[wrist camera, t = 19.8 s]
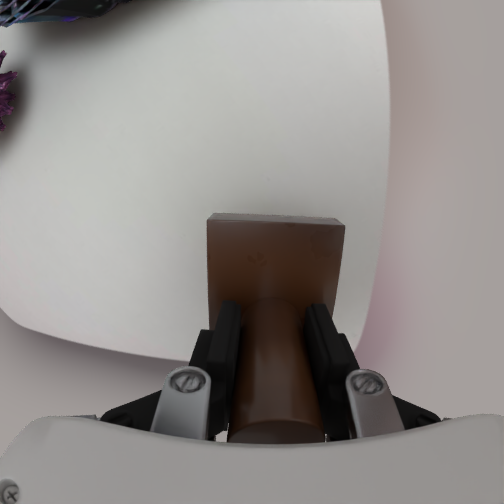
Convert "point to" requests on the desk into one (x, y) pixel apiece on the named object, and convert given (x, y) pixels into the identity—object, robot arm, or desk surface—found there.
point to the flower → (5, 92)
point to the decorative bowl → (52, 10)
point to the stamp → (273, 317)
